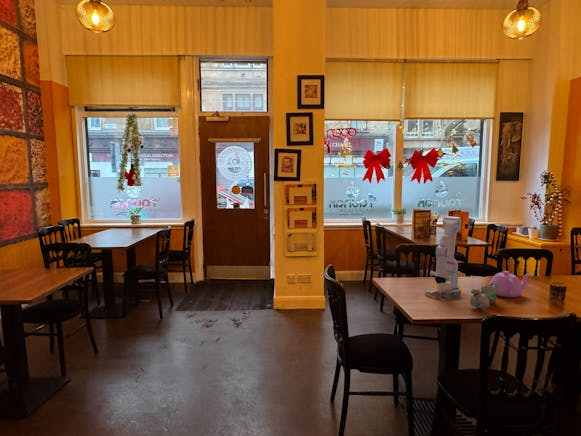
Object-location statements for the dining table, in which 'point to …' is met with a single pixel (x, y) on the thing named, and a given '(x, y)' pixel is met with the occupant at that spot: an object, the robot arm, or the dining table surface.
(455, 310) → the dining table surface
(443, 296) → the frame
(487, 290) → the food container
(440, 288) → the pad
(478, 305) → the grey lumpy figure
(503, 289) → the teapot
